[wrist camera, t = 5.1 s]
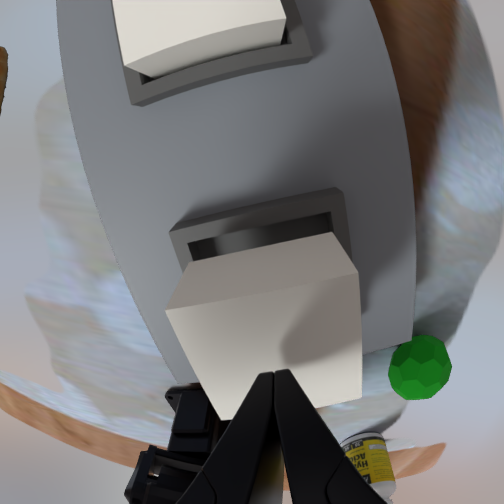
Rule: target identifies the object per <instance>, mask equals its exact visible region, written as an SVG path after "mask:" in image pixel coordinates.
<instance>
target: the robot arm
mask: <svg viewBox="0 0 504 504" xmlns="http://www.w3.org/2000/svg"><path fill="white" fill-rule="evenodd" d="M165 398H166V400H167V401H168V403H169V404H170V406H171V407H172V408H173V410H174V411H175V417H174V421H173V425H172V429H171V431H172V433H171V436H170V440H169V444H168V448H167V451H166V450H163V449H159V448H157V447H156V446H153V445H149V448H148V450H147V451H141V452H140V455H139V459H138V462H137V465H136V468H135V470H134V472H133V475H132V477H131V479H130V481H129V483H128V485H127V487H126V489H125V493H124V496H125V497H126V499H127V500H128V502H129V504H282V496H283V481H284V463H285V468H286V473H287V478H288V483H289V488H290V493H291V498H292V503H293V504H388V503H387V502H386V501H385V500H384V499H383V498H382V497H381V496H380V495H379V494H378V493H377V492H376V491H375V490H374V489H373V488H372V487H371V486H370V485H369V484H368V482H367V481H366V480H365V479H364V478H363V476H362V475H361V474H360V472H359V471H358V470H357V468H356V467H355V466H354V464H353V463H352V462H351V460H350V459H349V457H348V456H346V453H345V452H344V450H343V449H342V447H341V446H340V444H339V443H338V442H337V440H336V439H335V437H334V436H333V434H332V433H331V431H330V430H329V428H328V427H327V425H326V424H325V422H324V421H323V419H322V418H321V416H320V415H319V413H318V412H317V410H316V409H315V407H314V406H313V404H312V403H311V401H310V400H309V398H308V397H307V395H306V394H305V392H304V391H303V389H302V388H301V386H300V384H299V383H298V381H297V380H296V378H295V377H294V375H293V374H292V372H291V371H290V369H281V370H276V371H275V372H273V371H269V372H263V373H259V374H258V376H257V377H256V379H255V381H254V383H253V384H252V386H251V388H250V390H249V391H248V393H247V395H246V397H245V398H244V400H243V402H242V404H241V405H240V407H239V409H238V410H237V412H236V414H235V415H234V417H233V419H231V420H221V419H220V417H219V416H218V414H217V412H216V410H215V409H214V407H213V405H212V403H211V402H210V400H209V398H208V396H207V394H206V392H205V391H204V389H192V390H174V391H167V392H166V394H165ZM154 474H157V475H159V476H158V477H157V476H154Z"/></svg>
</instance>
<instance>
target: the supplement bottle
mask: <svg viewBox="0 0 504 504" xmlns="http://www.w3.org/2000/svg"><path fill="white" fill-rule="evenodd" d="M340 446H341V447H342V449H343V450H344V452H345V453H346V456H348V457H349V459H350V460H351V462H352V463H353V464H354V466H355V467H356V468H357V470H358V471H359V472H360V474H361V475H362V476H363V478H364V479H365V480H366V481H367V482H368V484H369V485H370V486H371V487H372V488H373V489H374V490H375V491H376V492H377V493H378V494H379V495H380V496H381V497H382V498H383V499H384V500H385V501H386V502H387V503H388V504H393V502H392V500H391V499H389V497H390V496H391V495H392V494H393V493H394V492H395V490H396V482H395V478H394V474H393V470H392V466H391V463H390V459H389V455H388V451H387V448H386V444H385V441H384V438H383V436H382V435H381V434H379V433H363V434H359V435H356V436H353V437H351V438H349V439H347V440H345V441H344V442H342V443H341V444H340Z"/></svg>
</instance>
